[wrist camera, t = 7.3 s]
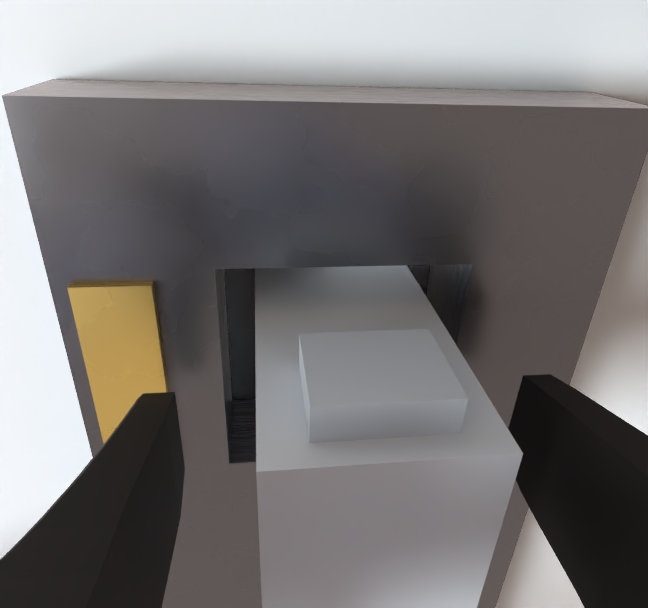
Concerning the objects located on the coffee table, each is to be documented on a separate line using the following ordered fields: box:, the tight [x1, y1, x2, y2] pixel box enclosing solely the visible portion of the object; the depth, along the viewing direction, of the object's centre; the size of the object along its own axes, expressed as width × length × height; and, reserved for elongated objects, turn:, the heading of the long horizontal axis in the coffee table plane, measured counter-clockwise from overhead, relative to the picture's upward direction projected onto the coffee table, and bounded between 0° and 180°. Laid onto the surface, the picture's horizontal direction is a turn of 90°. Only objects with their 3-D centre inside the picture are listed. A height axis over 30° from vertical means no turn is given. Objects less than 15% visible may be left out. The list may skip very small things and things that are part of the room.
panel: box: [2, 79, 648, 608], centre depth 16 cm, size 12×24×3 cm, turn 178°
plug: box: [255, 265, 523, 608], centre depth 11 cm, size 4×5×7 cm
